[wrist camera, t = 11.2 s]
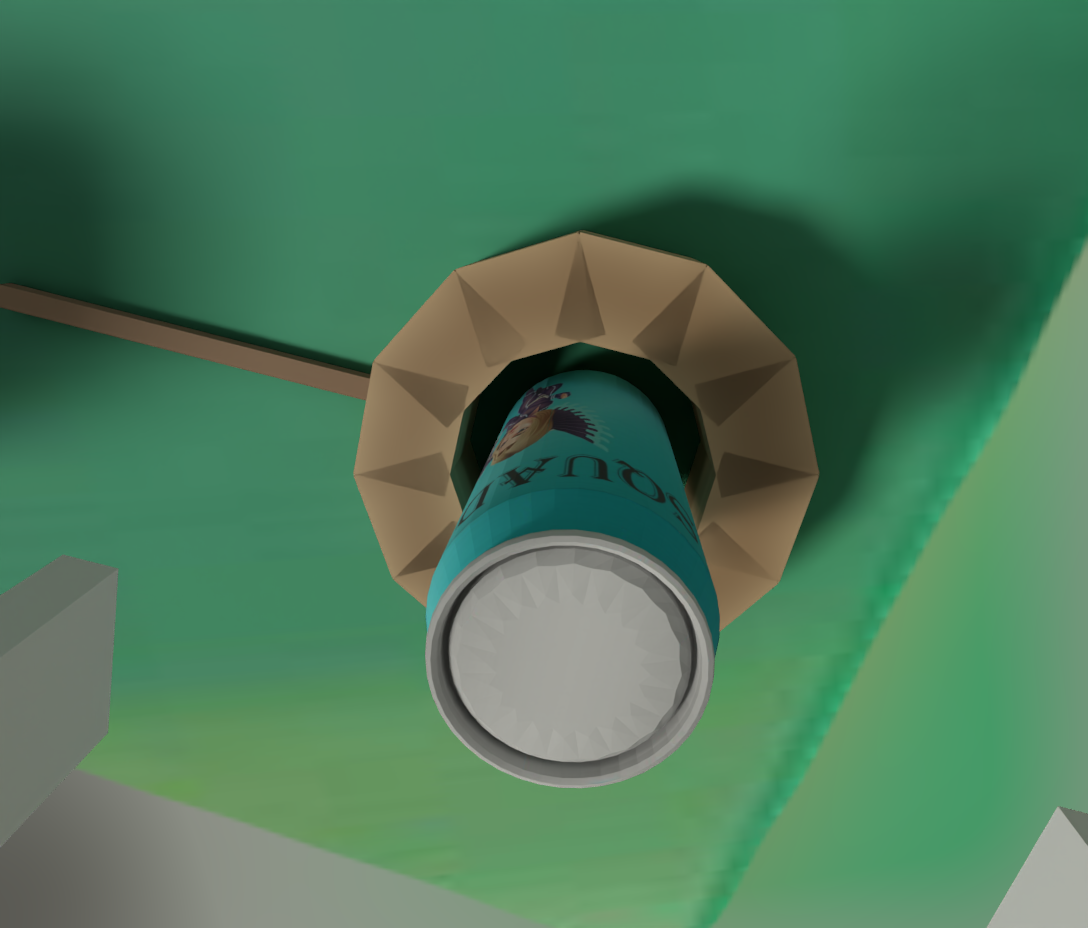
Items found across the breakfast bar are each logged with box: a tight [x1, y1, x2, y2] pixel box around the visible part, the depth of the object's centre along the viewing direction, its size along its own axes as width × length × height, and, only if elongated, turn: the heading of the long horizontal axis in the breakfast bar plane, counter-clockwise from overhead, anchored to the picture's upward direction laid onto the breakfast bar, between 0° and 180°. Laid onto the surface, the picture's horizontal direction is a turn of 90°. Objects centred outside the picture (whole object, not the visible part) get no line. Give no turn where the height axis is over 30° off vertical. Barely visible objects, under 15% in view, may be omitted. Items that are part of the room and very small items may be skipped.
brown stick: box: [0, 283, 371, 400], centre depth 28 cm, size 1×14×1 cm, turn 77°
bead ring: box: [354, 230, 819, 632], centre depth 26 cm, size 14×14×4 cm
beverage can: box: [425, 370, 720, 788], centre depth 21 cm, size 6×6×15 cm
